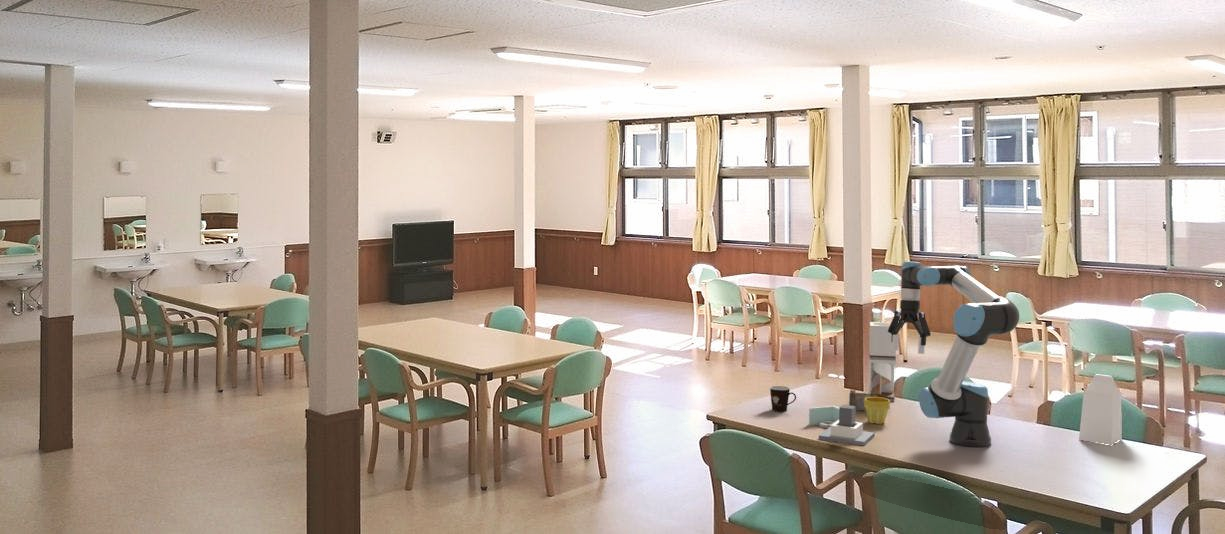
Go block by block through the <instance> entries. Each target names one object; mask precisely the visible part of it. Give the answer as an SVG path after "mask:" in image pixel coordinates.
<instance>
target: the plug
mask: <svg viewBox="0 0 1225 534" xmlns="http://www.w3.org/2000/svg"><path fill="white" fill-rule="evenodd" d="M838 408H839V426H847V427H854V426H855V422H856V410H855V409H856V406H850V405H847V404H842V405H841V406H839V407H838Z"/></svg>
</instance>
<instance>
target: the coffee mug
mask: <svg viewBox="0 0 1225 534" xmlns="http://www.w3.org/2000/svg"><path fill="white" fill-rule="evenodd" d="M769 389H770V390H769V391H770V400H771V401H770V402H771V411H772V412H776V411H778V412H777V413H784V411H785V412H787V411H788V406H789V405H790V404H792V403H794V402H795V401H796V400H797V396H796V395H797V394H795V393H794V392H790V390H791V389H790V387H789V386H786V385H785V386H784V385H773V386H770V387H769ZM790 395H793V397H794V399H793V400H792V401H790V402H789V397H790Z"/></svg>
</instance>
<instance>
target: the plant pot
mask: <svg viewBox="0 0 1225 534" xmlns="http://www.w3.org/2000/svg"><path fill="white" fill-rule="evenodd" d="M890 405H891V402H890V400H889V399H886V398H881V397H867V398H865V399H864V406H865V407H866V411H865V412H866V416H867V417H866V418H867V422H868V423H869V422H870V423H869V424H873V423H876V424H875V425H883V424H885V423H886V418H887V413H888V410H889V409H890ZM882 423H883V424H882Z"/></svg>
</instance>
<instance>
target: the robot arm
mask: <svg viewBox="0 0 1225 534" xmlns="http://www.w3.org/2000/svg"><path fill="white" fill-rule="evenodd" d="M900 273H901V274H900V275H901V277H900V279H901V281H900V302H899V303H900V305H899V308H900V310H894V314H893V317H892V320H891V322H890V323H891V324H890V326H889V329H888V332H889V333H891V334H892V340H891V341H892V351H896V352H897V351H898V352H899V341H900V340H899V338H900V335H899V332H900V330H901V329H902V327H904V325H905V324H906V323H908V324H912V325H913V327H914V328H915V329H916V331H917V333H918V335H919V337H918V348H917V349H918V350H917V352H918V353H917V354H919V355H922V354H923V355H924V354H925V346H926V345H927V337H928V338H929V337H931V334H932V333H931V331H930V328H929V325H928V322H927V320H926V313H925V312H919V310H920V308H921V307H920V306H921V305H920V304H921V303H920V302H921V301H920V299H921V286H923V287H932V286H933V287H934V286H951V287H952V288H953V289H955V290H956V291H958V293H960V294H961V295H963V296H964V297H965V298H967V299H968V300H969V301H970V302H969V303H964V304H961V305H960V306H959V307H958V308H957V309H956V310H955V312H954V314H953V317H952V319H953V321H952V326H953V329H954V331H955V334H956V338H955V340H954V341H953V344H952V345H951V346H952V347H951V349H950V350H949V353H948V355H947V358H946V359H945V362H944V363H943V367H942V368H941V370H940V373H939V374H938V377H936V378H934V379H932V381H931V382H930V385H929V386H928V387H923V388H921V389H920V391H919V394H918V403H919V407H920V410H921V412H922V414H924V416H926V417H927V418H928V419H929V418H930V419H941V418H942V419H943V418H954V422H953V426H952V428H951V432H950V433H949V441H950V442H951V443H952V444H956V445H960V446H962V447H963V446H964V447H971V448H972V447H974V448H977V447H978V448H980V447H981V448H983V447H988V446H990V445H991V444H992V437H991V435H990V431H989V426H988V406H989V405H988V402H989V401H988V400H989V392H988V391H989V389H988V388H987V386H985V385H983V384H980V383H976V382H971V381H965V378H966V376H967V373H968V371H969V369H970V368H971V365H972V363H973V361H974V359H975V357H976V355H977V354H978V351H979V349H980V347H982V346H985V345H986V344H987V342H988V340H989V339H990V337H991V336H996V335H997V336H998V335H1006V334H1008V333H1011V332H1012V331H1013V330H1015V329H1016V328H1017V327H1018V324H1019V322H1020V311H1019V309H1018V307H1017V306H1016V305H1015V303H1014V302H1013V301H1012V300H1010V299H1008V298H1007V297H1005V296H999V294H998V295H997V294H996V293H995V292H994V291H992V290H991V289H990V288H988V287H986V286H985V285H984V284H983V283H981V282H979V281H978V280H976V279H975V278H974V277H972V276H971V271H970V270H969V268H968V267H967V266H965V265H964V266H963V265H946V266H945V265H944V266H943V265H942V266H941V265H940V266H937V265H936V266H922V263H921V262H920V261H919V262H918V261H903V262H902V266H901V272H900Z"/></svg>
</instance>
